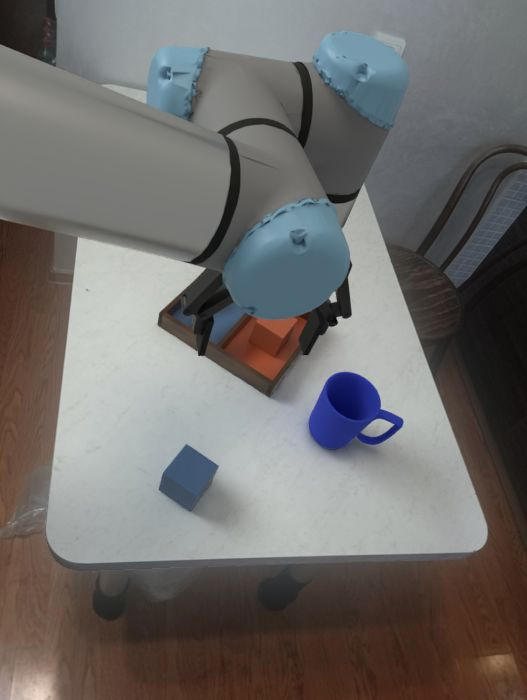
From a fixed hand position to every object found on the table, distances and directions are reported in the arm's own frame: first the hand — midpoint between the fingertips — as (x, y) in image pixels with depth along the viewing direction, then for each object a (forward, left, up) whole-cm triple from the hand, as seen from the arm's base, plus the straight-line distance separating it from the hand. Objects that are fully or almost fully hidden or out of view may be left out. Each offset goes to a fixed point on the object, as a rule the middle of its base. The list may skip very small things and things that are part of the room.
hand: (253, 347), depth 68 cm
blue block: (+2, -14, -14) cm, 20 cm away
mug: (+16, +6, -15) cm, 22 cm away
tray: (-7, +14, -14) cm, 21 cm away
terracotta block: (-2, +14, -14) cm, 20 cm away
